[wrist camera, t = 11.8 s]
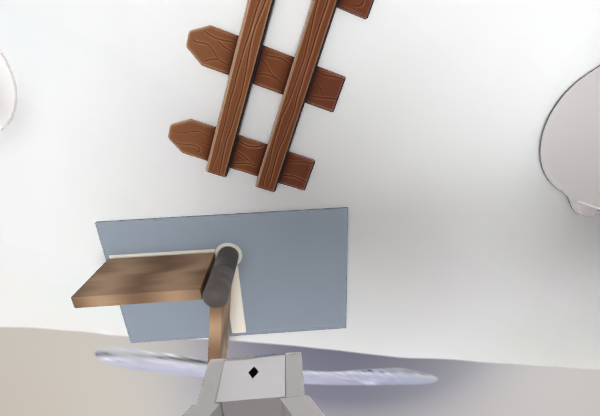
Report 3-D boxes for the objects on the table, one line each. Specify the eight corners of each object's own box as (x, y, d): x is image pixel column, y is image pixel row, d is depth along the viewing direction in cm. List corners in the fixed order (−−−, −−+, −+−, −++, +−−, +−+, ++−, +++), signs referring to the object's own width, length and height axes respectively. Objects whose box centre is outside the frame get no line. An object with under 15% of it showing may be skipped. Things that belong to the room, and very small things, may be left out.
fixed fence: (237, 245, 38) (226, 285, 30) (239, 263, 38) (229, 306, 31) (108, 252, 37) (65, 296, 30) (113, 271, 38) (72, 317, 31)
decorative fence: (384, -34, 29) (220, -108, 27) (390, -41, 28) (216, -121, 25) (300, 195, 37) (167, 154, 34) (301, 201, 35) (161, 158, 33)
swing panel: (227, 346, 43) (218, 395, 36) (218, 346, 42) (207, 394, 36) (232, 268, 38) (222, 306, 32) (222, 267, 38) (209, 305, 32)
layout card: (347, 207, 37) (347, 208, 37) (345, 326, 43) (346, 328, 43) (96, 221, 36) (94, 223, 36) (131, 341, 42) (130, 343, 42)
